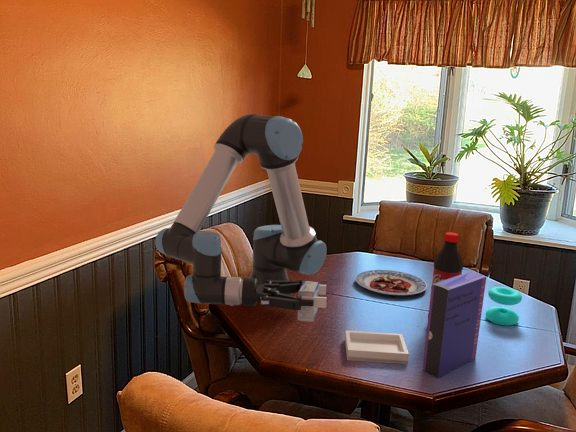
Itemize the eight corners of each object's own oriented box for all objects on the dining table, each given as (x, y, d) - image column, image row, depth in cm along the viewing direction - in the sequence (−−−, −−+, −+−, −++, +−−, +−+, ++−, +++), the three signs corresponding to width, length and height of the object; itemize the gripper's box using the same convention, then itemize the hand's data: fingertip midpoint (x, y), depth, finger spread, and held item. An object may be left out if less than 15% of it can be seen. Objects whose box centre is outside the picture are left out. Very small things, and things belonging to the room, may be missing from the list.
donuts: (485, 291, 176) (493, 283, 184) (481, 321, 179) (489, 311, 187) (518, 299, 171) (525, 290, 179) (513, 329, 173) (521, 319, 181)
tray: (345, 340, 161) (345, 330, 160) (401, 343, 160) (402, 334, 160) (347, 360, 149) (347, 349, 149) (407, 364, 149) (408, 353, 148)
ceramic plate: (429, 303, 192) (430, 295, 191) (353, 296, 195) (354, 287, 195) (423, 278, 216) (424, 271, 216) (356, 272, 220) (357, 265, 219)
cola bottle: (436, 334, 167) (447, 237, 160) (421, 322, 175) (431, 229, 168) (460, 332, 170) (473, 236, 163) (445, 320, 178) (456, 229, 171)
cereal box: (460, 352, 157) (470, 270, 151) (475, 359, 153) (486, 275, 148) (422, 370, 146) (431, 283, 140) (437, 378, 142) (448, 289, 137)
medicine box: (313, 322, 149) (315, 292, 147) (296, 320, 150) (298, 290, 148) (317, 311, 157) (319, 281, 154) (302, 309, 157) (303, 280, 155)
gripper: (247, 290, 164) (325, 294, 163) (236, 320, 143) (325, 325, 142) (247, 265, 162) (326, 269, 161) (237, 293, 141) (327, 298, 140)
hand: (326, 296), depth 152 cm, fingers closed on medicine box, 8 cm apart
